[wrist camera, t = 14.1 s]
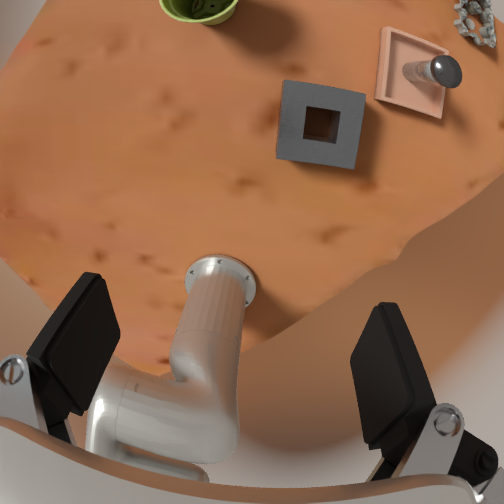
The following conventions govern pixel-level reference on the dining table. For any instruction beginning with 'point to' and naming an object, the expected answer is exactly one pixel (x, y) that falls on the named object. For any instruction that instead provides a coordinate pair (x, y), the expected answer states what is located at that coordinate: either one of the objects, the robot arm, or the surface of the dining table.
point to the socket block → (341, 126)
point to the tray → (393, 81)
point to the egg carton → (485, 17)
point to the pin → (434, 71)
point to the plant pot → (199, 10)
